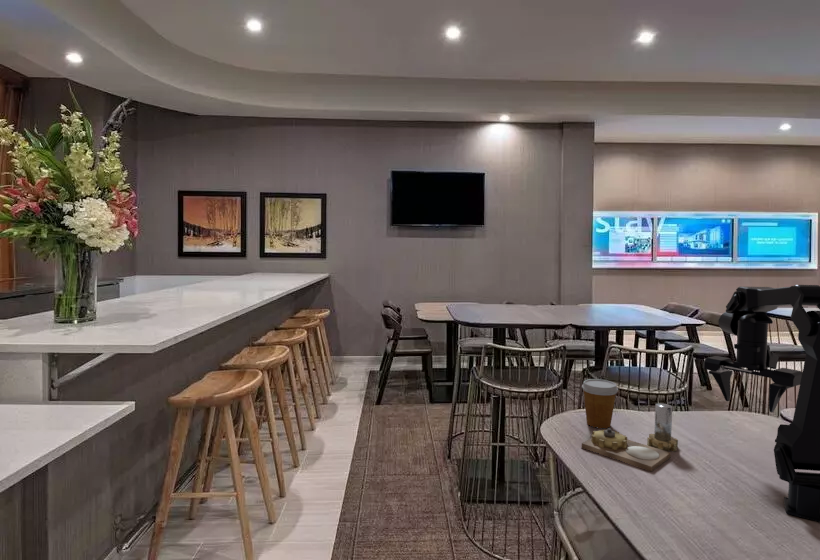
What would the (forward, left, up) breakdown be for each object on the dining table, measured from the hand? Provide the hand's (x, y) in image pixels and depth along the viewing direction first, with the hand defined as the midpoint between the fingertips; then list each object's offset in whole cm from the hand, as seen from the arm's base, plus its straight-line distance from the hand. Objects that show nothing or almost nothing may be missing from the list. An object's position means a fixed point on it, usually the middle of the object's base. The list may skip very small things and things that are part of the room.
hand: (748, 406), depth 113 cm
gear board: (-11, +25, -13) cm, 30 cm away
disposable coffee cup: (+4, +35, -14) cm, 37 cm away
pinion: (-2, +18, -13) cm, 22 cm away
